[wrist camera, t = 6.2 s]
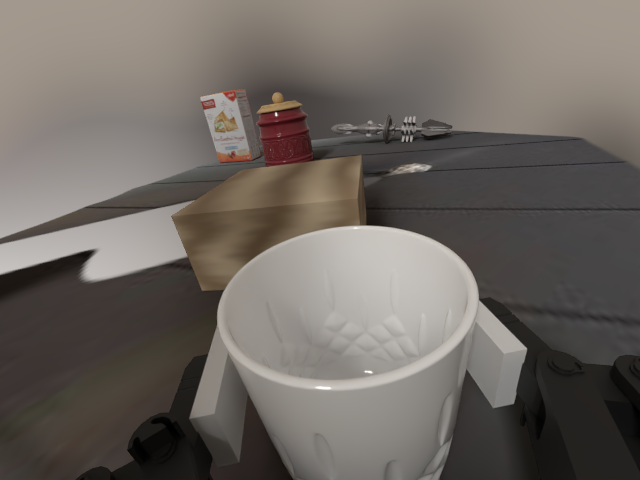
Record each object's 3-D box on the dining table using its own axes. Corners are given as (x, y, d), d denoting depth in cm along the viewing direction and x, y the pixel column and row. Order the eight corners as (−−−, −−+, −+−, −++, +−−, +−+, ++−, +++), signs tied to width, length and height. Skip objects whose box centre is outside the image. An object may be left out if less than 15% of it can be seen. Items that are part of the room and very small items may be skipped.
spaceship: (337, 119, 93) (328, 111, 86) (454, 118, 80) (454, 109, 72) (334, 144, 94) (325, 138, 87) (449, 147, 81) (449, 141, 74)
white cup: (404, 361, 18) (401, 211, 13) (500, 531, 11) (562, 331, 6) (278, 397, 17) (229, 249, 12) (292, 605, 10) (189, 436, 5)
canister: (287, 174, 68) (271, 91, 60) (257, 171, 77) (239, 98, 69) (325, 160, 76) (314, 86, 68) (293, 159, 84) (280, 93, 77)
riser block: (202, 290, 28) (171, 216, 25) (256, 223, 42) (242, 169, 39) (365, 285, 25) (357, 198, 21) (366, 214, 39) (361, 155, 35)
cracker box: (219, 163, 99) (198, 96, 89) (230, 159, 103) (211, 95, 94) (251, 161, 93) (233, 89, 84) (262, 156, 98) (245, 88, 88)
